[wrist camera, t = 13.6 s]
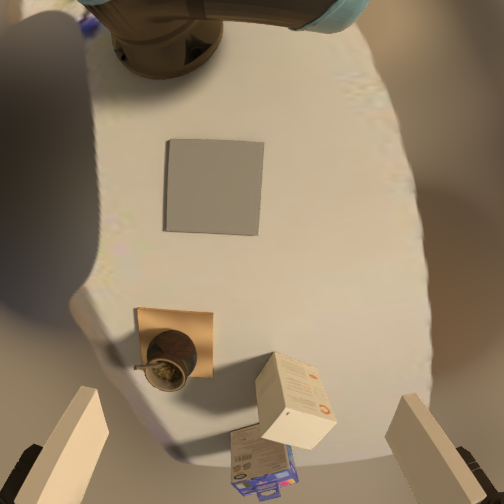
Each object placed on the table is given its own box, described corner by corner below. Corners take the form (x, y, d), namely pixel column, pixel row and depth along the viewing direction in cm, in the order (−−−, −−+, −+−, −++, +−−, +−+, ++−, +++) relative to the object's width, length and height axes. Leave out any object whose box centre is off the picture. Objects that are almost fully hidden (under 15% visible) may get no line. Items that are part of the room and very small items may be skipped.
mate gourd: (189, 372, 46) (178, 415, 36) (144, 351, 45) (124, 390, 35) (207, 337, 44) (199, 378, 35) (160, 314, 43) (140, 350, 34)
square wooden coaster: (138, 307, 44) (137, 309, 43) (213, 312, 44) (212, 315, 44) (144, 369, 46) (143, 371, 46) (212, 375, 47) (212, 378, 46)
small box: (253, 380, 48) (258, 438, 35) (273, 350, 46) (285, 406, 34) (296, 395, 49) (311, 451, 36) (317, 367, 48) (338, 422, 35)
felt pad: (171, 139, 38) (170, 139, 38) (263, 143, 39) (264, 142, 39) (167, 230, 41) (166, 230, 41) (257, 234, 42) (258, 235, 41)
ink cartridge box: (241, 448, 52) (243, 508, 38) (228, 431, 50) (228, 494, 36) (290, 433, 51) (302, 494, 37) (280, 415, 50) (291, 478, 36)
